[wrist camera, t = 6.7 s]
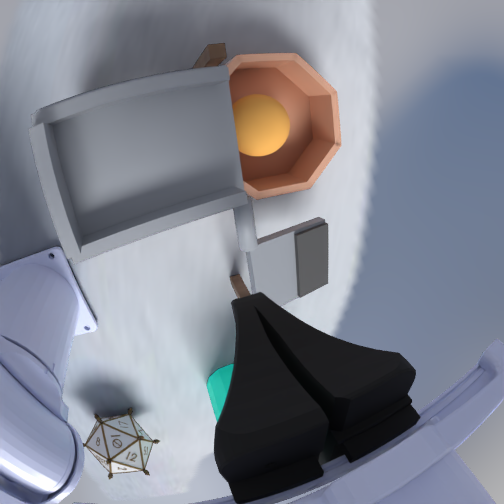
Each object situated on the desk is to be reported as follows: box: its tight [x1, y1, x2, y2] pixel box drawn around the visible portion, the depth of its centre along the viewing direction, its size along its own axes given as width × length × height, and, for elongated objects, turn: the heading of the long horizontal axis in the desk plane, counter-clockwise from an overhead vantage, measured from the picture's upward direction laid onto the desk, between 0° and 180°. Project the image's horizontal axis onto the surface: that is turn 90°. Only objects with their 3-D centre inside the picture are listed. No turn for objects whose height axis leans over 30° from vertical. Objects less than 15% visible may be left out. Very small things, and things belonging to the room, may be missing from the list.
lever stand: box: [193, 43, 251, 298], centre depth 16 cm, size 9×17×6 cm, turn 8°
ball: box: [232, 94, 290, 156], centre depth 16 cm, size 4×4×4 cm
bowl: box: [225, 53, 341, 200], centre depth 17 cm, size 9×9×4 cm
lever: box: [28, 65, 328, 306], centre depth 13 cm, size 14×15×3 cm
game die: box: [83, 408, 160, 479], centre depth 24 cm, size 9×8×10 cm
